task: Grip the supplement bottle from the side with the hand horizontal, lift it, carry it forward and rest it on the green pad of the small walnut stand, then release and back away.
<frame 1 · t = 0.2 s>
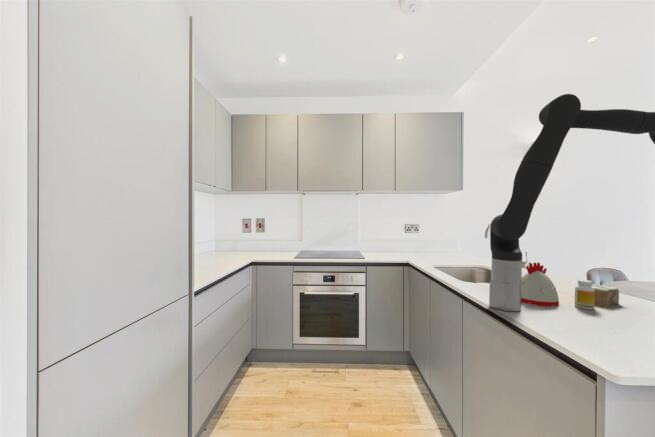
supplement bottle: (584, 308, 107), on the countertop
stand: (597, 302, 115), on the countertop
grey and red dome: (535, 301, 115), on the countertop
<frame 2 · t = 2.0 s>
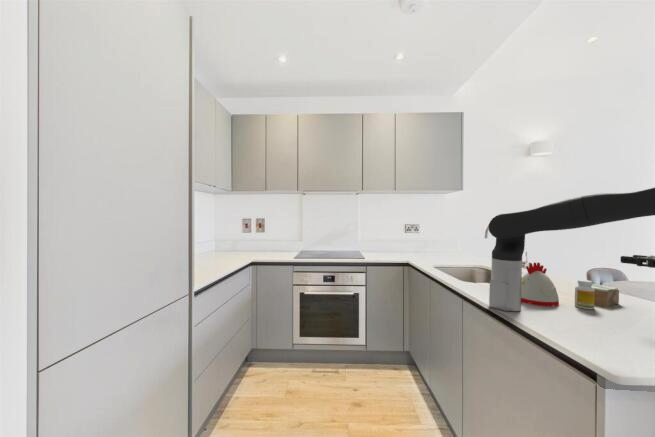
hand: (627, 258, 97), 19 cm above the countertop, tool horizontal, fingers open, 8 cm apart
nothing on the countertop moved.
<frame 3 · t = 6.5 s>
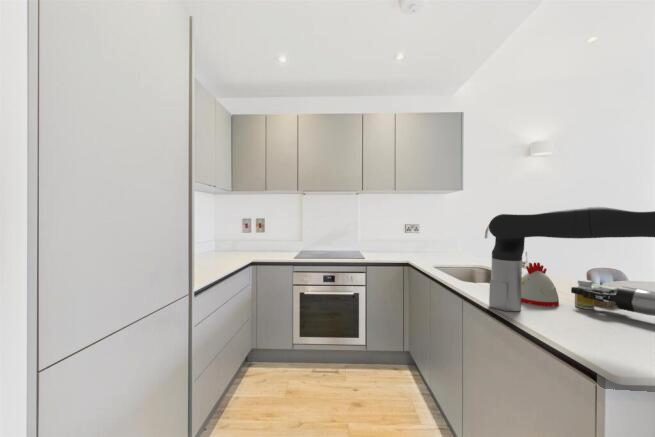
hand: (576, 289, 110), 6 cm above the countertop, tool horizontal, fingers closed on supplement bottle, 5 cm apart
supplement bottle: (584, 307, 107), on the countertop, touching gripper
everything else where it was.
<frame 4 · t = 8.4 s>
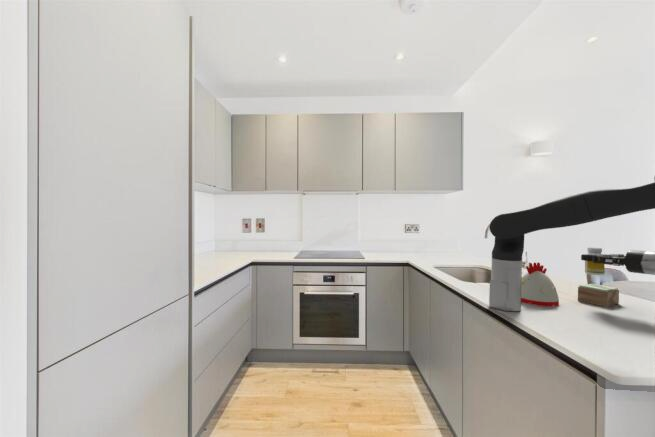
hand: (586, 256, 112), 18 cm above the countertop, tool horizontal, fingers closed on supplement bottle, 5 cm apart
supplement bottle: (594, 274, 110), point 12 cm above the countertop, touching gripper
everything else where it was.
when the fingers open (13 cm above the countertop, at t = 10.4 s): supplement bottle drops 1 cm, resting on stand.
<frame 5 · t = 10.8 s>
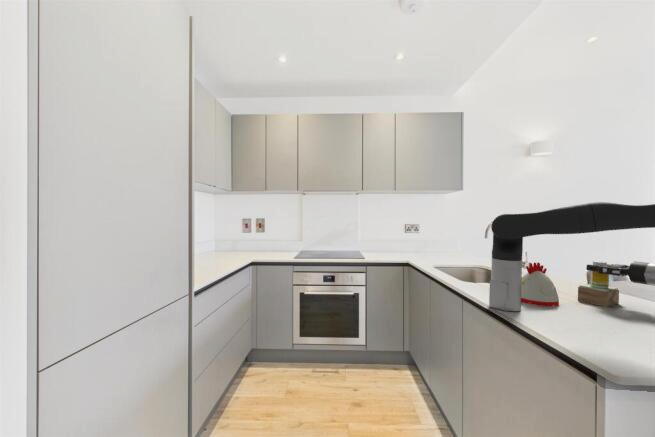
hand: (592, 266, 116), 14 cm above the countertop, tool horizontal, fingers open, 8 cm apart
supplement bottle: (599, 287, 114), point 6 cm above the countertop, touching stand
everything else where it was.
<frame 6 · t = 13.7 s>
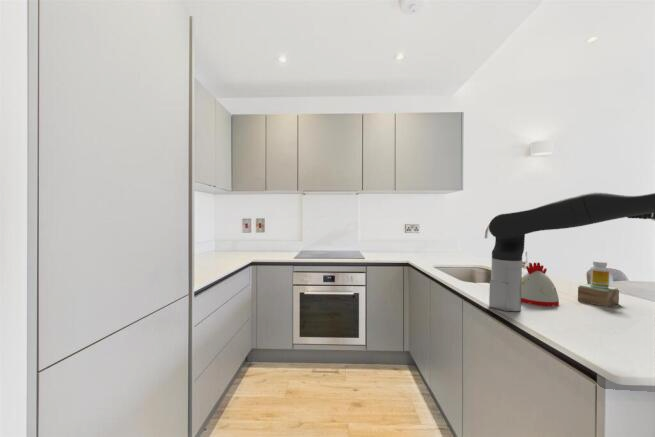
hand: (633, 215, 103), 34 cm above the countertop, tool horizontal, fingers open, 8 cm apart
nothing on the countertop moved.
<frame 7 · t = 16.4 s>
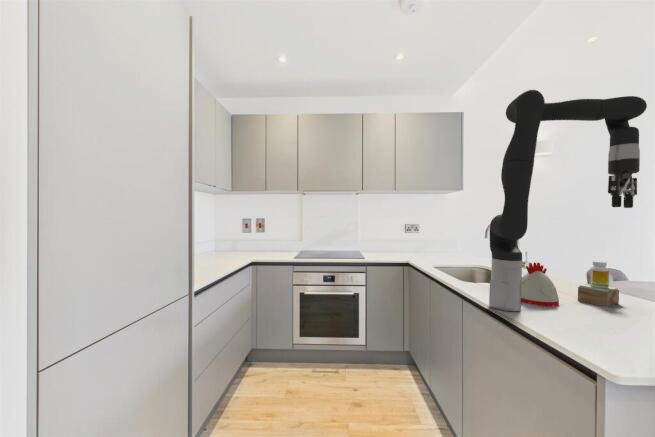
hand: (622, 207, 100), 36 cm above the countertop, tool pointing down, fingers open, 8 cm apart
nothing on the countertop moved.
at the end: supplement bottle inside the target area on the stand (0.2 cm from its centre), point 5.8 cm above the stand's base; supplement bottle tilted 0°; the gripper is holding nothing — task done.
